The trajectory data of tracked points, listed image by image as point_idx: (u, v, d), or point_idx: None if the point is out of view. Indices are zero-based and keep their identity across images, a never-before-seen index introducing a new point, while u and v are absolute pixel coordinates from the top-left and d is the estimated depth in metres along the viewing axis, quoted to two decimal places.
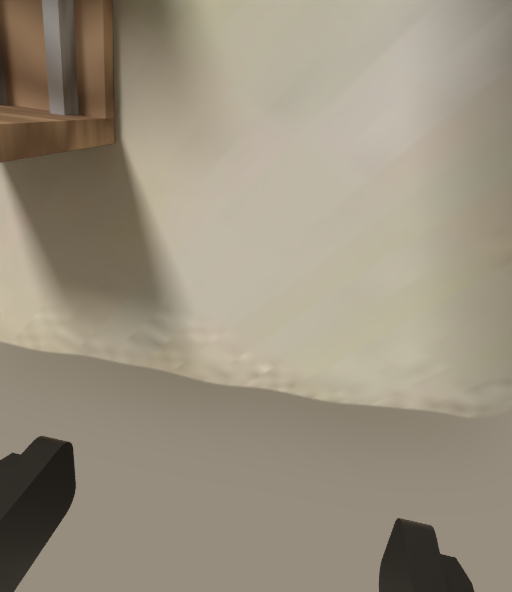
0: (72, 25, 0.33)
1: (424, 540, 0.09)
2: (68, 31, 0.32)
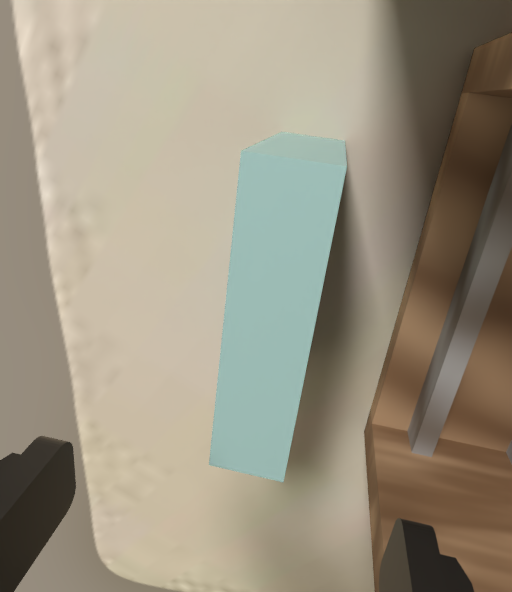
0: None
1: (424, 540, 0.09)
2: None
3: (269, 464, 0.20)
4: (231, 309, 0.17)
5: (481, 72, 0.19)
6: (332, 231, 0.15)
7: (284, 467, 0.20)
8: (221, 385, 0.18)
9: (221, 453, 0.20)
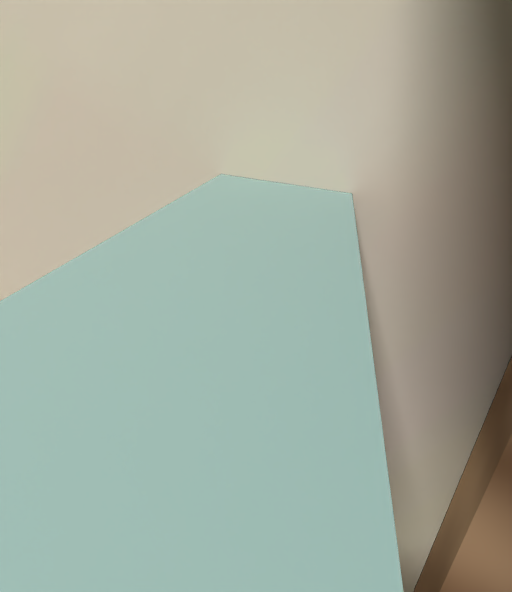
0: None
1: None
2: None
3: None
4: None
5: None
6: None
7: None
8: None
9: None
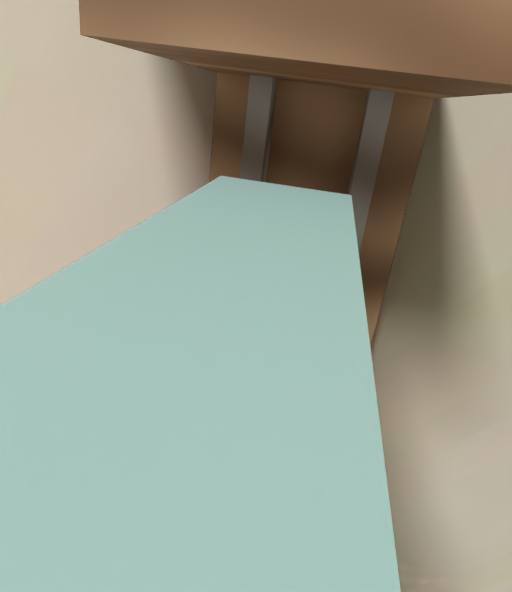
0: None
1: None
2: None
3: None
4: None
5: None
6: None
7: None
8: None
9: None
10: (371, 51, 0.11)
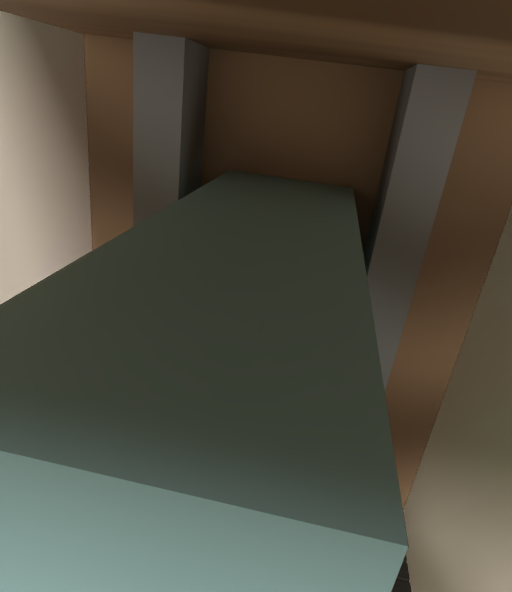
0: None
1: None
2: None
3: None
4: None
5: None
6: None
7: None
8: None
9: None
10: None
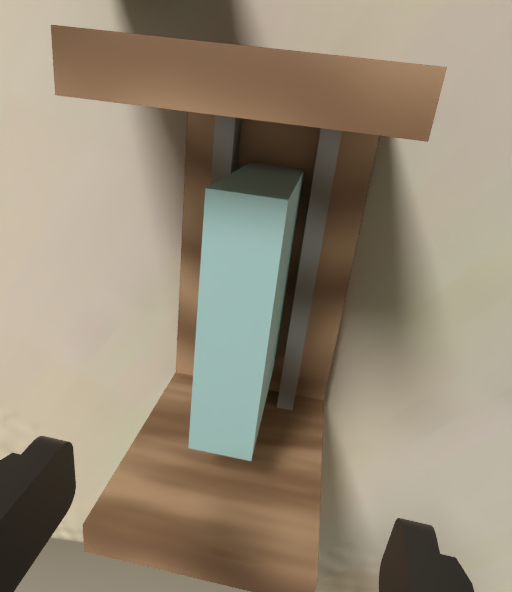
0: (307, 327, 0.32)
1: (424, 540, 0.09)
2: None
3: (239, 445, 0.23)
4: (202, 314, 0.21)
5: None
6: (280, 250, 0.19)
7: (251, 448, 0.23)
8: (196, 378, 0.22)
9: (198, 437, 0.24)
10: (286, 111, 0.14)
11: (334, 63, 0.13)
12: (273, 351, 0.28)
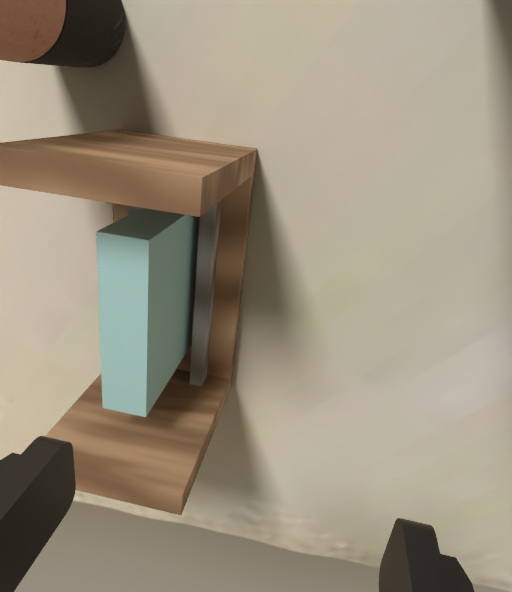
0: (210, 322, 0.42)
1: (424, 540, 0.09)
2: (208, 329, 0.41)
3: (136, 406, 0.33)
4: (102, 314, 0.30)
5: None
6: (147, 272, 0.29)
7: (145, 407, 0.33)
8: (103, 358, 0.32)
9: (108, 400, 0.33)
10: (120, 197, 0.23)
11: (142, 172, 0.22)
12: (174, 340, 0.38)
